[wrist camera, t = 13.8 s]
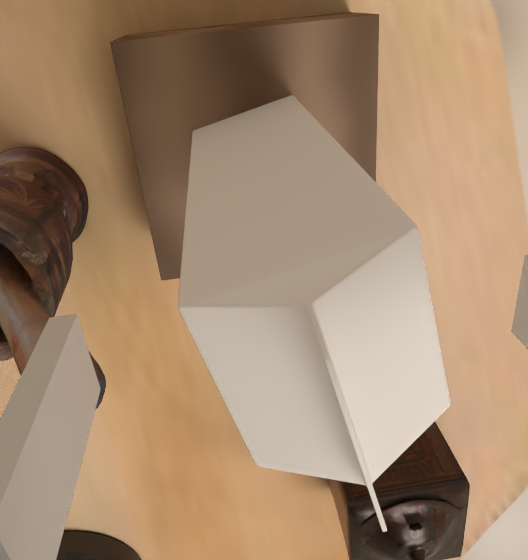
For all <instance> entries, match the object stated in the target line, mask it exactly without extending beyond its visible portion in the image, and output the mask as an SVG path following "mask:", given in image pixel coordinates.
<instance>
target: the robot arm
mask: <svg viewBox="0 0 528 560" xmlns="http://www.w3.org/2000/svg"><path fill="white" fill-rule="evenodd" d="M511 332H512V333H513V334H514V335H515V336H516V337H517V338H518V339H519V340H520V341H521V342H522V343H523V344H524V345H525V346H526V348H527V349H528V255H525V258H524V264H523V269H522V275H521V281H520V286H519V292H518V297H517V303H516V308H515V314H514V320H513V325H512V331H511ZM100 390H101V389H100V385H99V382H98V379H97V376H96V373H95V370H94V367H93V363H92V360H91V357H90V354H89V351H88V348H87V344H86V341H85V338H84V335H83V332H82V329H81V326H80V322H79V319H78V316H77V314H74V315H66V316H59V317H51V318H49V319H48V322H47V324H46V326H45V328H44V330H43V332H42V334H41V336H40V338H39V340H38V342H37V344H36V346H35V348H34V350H33V352H32V354H31V356H30V359H29V361H28V363H27V365H26V367H25V369H24V371H23V373H22V375H21V377H20V379H19V381H18V383H17V385H16V387H15V389H14V391H13V393H12V396H11V398H10V400H9V402H8V404H7V406H6V408H5V410H4V412H3V414H2V416H1V418H0V560H141V559H140V558H139V556H138V555H137V554H136V553H135V552H134V551H133V550H132V549H131V548H129V547H128V546H126V545H125V544H123V543H121V542H119V541H117V540H115V539H112V538H110V537H107V536H103V535H99V534H94V533H88V532H64V528H65V524H66V520H67V516H68V512H69V509H70V505H71V501H72V497H73V493H74V489H75V486H76V482H77V478H78V474H79V470H80V466H81V463H82V459H83V455H84V451H85V447H86V444H87V440H88V436H89V432H90V428H91V424H92V421H93V417H94V413H95V409H96V405H97V401H98V398H99V394H100Z"/></svg>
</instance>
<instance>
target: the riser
mask: <svg viewBox="0 0 528 560" xmlns="http://www.w3.org/2000/svg"><path fill="white" fill-rule="evenodd" d="M378 41H379V14H367V13H353V12H348V13H339V14H329V15H319V16H310V17H300V18H290V19H280V20H271V21H261V22H251V23H242V24H232V25H222V26H212V27H203V28H193V29H183V30H174V31H164V32H154V33H145V34H135V35H126V36H123V37H121V38H119V39H117V40H114V41H112V42H110V43H111V48H112V53H113V57H114V62H115V67H116V71H117V76H118V81H119V85H120V90H121V95H122V99H123V104H124V109H125V113H126V118H127V123H128V127H129V132H130V137H131V141H132V146H133V151H134V155H135V160H136V165H137V169H138V174H139V179H140V183H141V188H142V193H143V197H144V202H145V207H146V211H147V216H148V221H149V225H150V230H151V235H152V239H153V244H154V248H155V253H156V258H157V262H158V267H159V272H160V276H161V280H169V279H176V278H180V274H181V262H182V250H183V238H184V227H185V215H186V203H187V192H188V180H189V168H190V156H191V145H192V133H193V131H194V130H196V129H199V128H202V127H205V126H207V125H210V124H213V123H216V122H218V121H221V120H224V119H227V118H229V117H232V116H235V115H238V114H241V113H243V112H246V111H249V110H252V109H254V108H257V107H260V106H263V105H265V104H268V103H271V102H274V101H276V100H279V99H282V98H285V97H287V96H290V95H293V96H294V97H295V98H296V99H297V100H298V101H299V102H300V103H301V104H302V105H303V107H304V108H305V109H306V110H307V111H308V112H309V113H310V114H311V115H312V116H313V117H314V118H315V119H316V120H317V121H318V122H319V123H320V124H321V125H322V126H323V127H324V129H325V130H326V131H327V132H328V133H329V134H330V135H331V136H332V137H333V138H334V139H335V140H336V141H337V142H338V143H339V144H340V145H341V146H342V147H343V148H344V150H345V151H346V152H347V153H348V154H349V155H350V156H351V157H352V158H353V159H354V160H355V161H356V162H357V163H358V164H359V165H360V166H361V167H362V168H363V169H364V171H365V172H366V173H367V174H368V175H369V176H370V177H371V178H372V179H373V180H374V181H375V182H376V137H377V89H378Z"/></svg>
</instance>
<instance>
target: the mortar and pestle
mask: <svg viewBox="0 0 528 560" xmlns="http://www.w3.org/2000/svg"><path fill="white" fill-rule="evenodd" d="M87 213H88V197H87V192H86V188H85V186H84V184H83V182H82V181H81V179H80V178H79V176H78V175H77V174H76V173H75V172H74V170H73V169H72V168H70V167H69V166H68V165H67V164H66V163H64V162H63V161H62V160H60V159H59V158H57V157H56V156H54V155H52V154H50V153H48V152H46V151H44V150H40V149H36V148H26V147H23V148H15V149H11V150H7V151H4V152H1V153H0V361H2V360H9V359H11V358H12V357H14V359H15V362H16V364H17V367H18V370H19V372H20V375H22V373H23V371H24V369H25V367H26V365H27V363H28V361H29V359H30V356H31V354H32V352H33V350H34V348H35V346H36V344H37V342H38V340H39V338H40V336H41V334H42V332H43V330H44V328H45V326H46V324H47V322H48V319H49V318H51V317H54V316H55V313H56V310H57V308H58V305H59V302H60V300H61V298H62V295H63V292H64V290H65V288H66V285H67V283H68V280H69V277H70V273H71V266H72V260H73V252H72V243H73V242H74V241H75V240H76V239H77V238H78V237H79V236H80V234H81V233H82V231H83V229H84V227H85V223H86V219H87ZM89 354H90V352H89ZM90 357H91V360H92V363H93V367H94V370H95V373H96V376H97V379H98V382H99V385H100V389H101V390H100V394H99V398H98V401H97V405H96V409H97V408H98V406H99V405H100V403H101V401H102V398H103V395H104V392H105V387H106V379H105V376H104V374H103V372H102V370H101V368H100V366H99V364H98V363H97V362H96V361H95V360H94V358H93V357H92V355H91V354H90Z"/></svg>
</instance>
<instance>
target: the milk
mask: <svg viewBox="0 0 528 560" xmlns="http://www.w3.org/2000/svg"><path fill="white" fill-rule="evenodd" d="M178 309H179V311H180V314H181V316H182V318H183V320H184V322H185V324H186V326H187V328H188V330H189V332H190V334H191V336H192V338H193V340H194V342H195V344H196V346H197V348H198V350H199V352H200V354H201V356H202V358H203V360H204V362H205V364H206V366H207V368H208V370H209V372H210V374H211V376H212V378H213V380H214V382H215V384H216V386H217V388H218V390H219V392H220V394H221V396H222V398H223V400H224V402H225V404H226V406H227V408H228V410H229V412H230V414H231V416H232V418H233V420H234V422H235V424H236V426H237V428H238V430H239V432H240V434H241V436H242V438H243V440H244V443H245V445H246V447H247V449H248V451H249V453H250V455H251V457H252V459H253V461H254V462H255V464H256V465H257V466H259V467H264V468H269V469H275V470H281V471H286V472H292V473H298V474H304V475H309V476H315V477H321V478H327V479H332V480H338V481H344V482H350V483H355V484H361V485H365V486H367V488H368V490H369V493H370V496H371V499H372V502H373V505H374V508H375V511H376V514H377V517H378V520H379V523H380V526H381V529H382V531H383V532H385V531H387V527H386V524H385V521H384V518H383V515H382V512H381V509H380V506H379V503H378V500H377V497H376V494H375V491H374V488H373V485H372V484H373V482H374V481H375V480H376V479H377V478H378V477H379V476H380V475H381V474H382V473H383V472H384V471H385V470H386V469H387V468H388V467H389V466H390V465H391V464H392V463H393V462H394V461H395V460H396V459H397V458H398V457H399V456H400V455H401V454H402V453H403V452H404V451H405V450H406V449H407V448H408V447H409V446H410V445H411V444H412V443H413V442H414V441H415V440H416V439H417V438H418V437H419V436H420V435H421V434H422V433H423V432H424V431H425V430H426V429H427V428H428V427H429V426H430V425H431V424H432V423H433V422H434V421H435V420H436V419H437V418H438V417H439V416H440V415H441V414H442V413H443V412H444V411H445V410H446V409H447V408H448V407H449V405H450V397H449V391H448V386H447V381H446V375H445V370H444V365H443V359H442V354H441V348H440V343H439V338H438V332H437V327H436V322H435V316H434V311H433V306H432V300H431V295H430V289H429V284H428V279H427V273H426V268H425V263H424V257H423V252H422V247H421V241H420V236H419V231H418V228H417V225H416V224H415V223H414V222H413V221H412V220H411V219H410V218H409V217H408V216H407V215H406V214H405V212H404V211H403V210H402V209H401V208H400V207H399V206H398V205H397V204H396V203H395V202H394V201H393V200H392V199H391V198H390V197H389V196H388V195H387V194H386V193H385V192H384V190H383V189H382V188H381V187H380V186H379V185H378V184H377V183H376V182H375V181H374V180H373V179H372V178H371V177H370V176H369V175H368V174H367V173H366V172H365V171H364V169H363V168H362V167H361V166H360V165H359V164H358V163H357V162H356V161H355V160H354V159H353V158H352V157H351V156H350V155H349V154H348V153H347V152H346V151H345V150H344V148H343V147H342V146H341V145H340V144H339V143H338V142H337V141H336V140H335V139H334V138H333V137H332V136H331V135H330V134H329V133H328V132H327V131H326V130H325V129H324V127H323V126H322V125H321V124H320V123H319V122H318V121H317V120H316V119H315V118H314V117H313V116H312V115H311V114H310V113H309V112H308V111H307V110H306V109H305V108H304V107H303V105H302V104H301V103H300V102H299V101H298V100H297V99H296V98H295V97H294V96H293V95H290V96H287V97H285V98H282V99H279V100H276V101H274V102H271V103H268V104H265V105H263V106H260V107H257V108H254V109H252V110H249V111H246V112H243V113H241V114H238V115H235V116H232V117H229V118H227V119H224V120H221V121H218V122H216V123H213V124H210V125H207V126H205V127H202V128H199V129H196V130H194V131H193V133H192V145H191V156H190V168H189V180H188V192H187V203H186V215H185V227H184V238H183V250H182V262H181V274H180V285H179V297H178Z"/></svg>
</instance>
